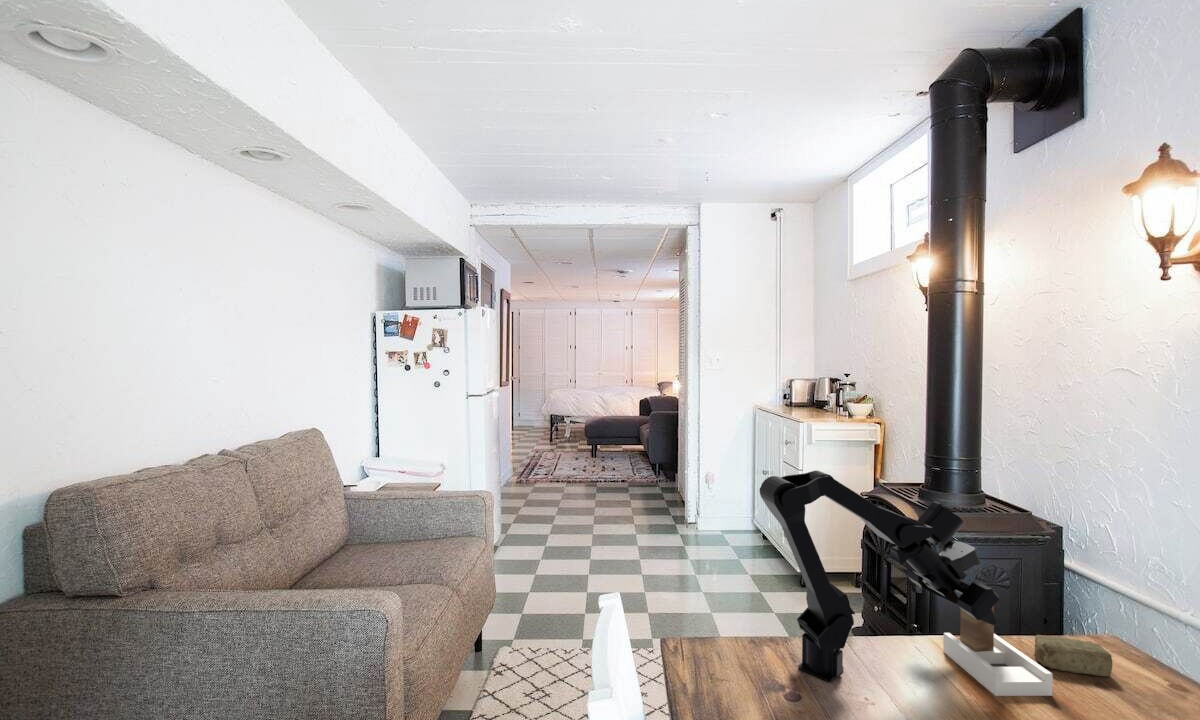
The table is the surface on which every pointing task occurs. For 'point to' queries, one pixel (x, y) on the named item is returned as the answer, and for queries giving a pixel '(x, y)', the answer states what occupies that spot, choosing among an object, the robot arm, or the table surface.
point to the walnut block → (976, 633)
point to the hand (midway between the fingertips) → (975, 612)
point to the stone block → (1073, 655)
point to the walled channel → (1001, 668)
